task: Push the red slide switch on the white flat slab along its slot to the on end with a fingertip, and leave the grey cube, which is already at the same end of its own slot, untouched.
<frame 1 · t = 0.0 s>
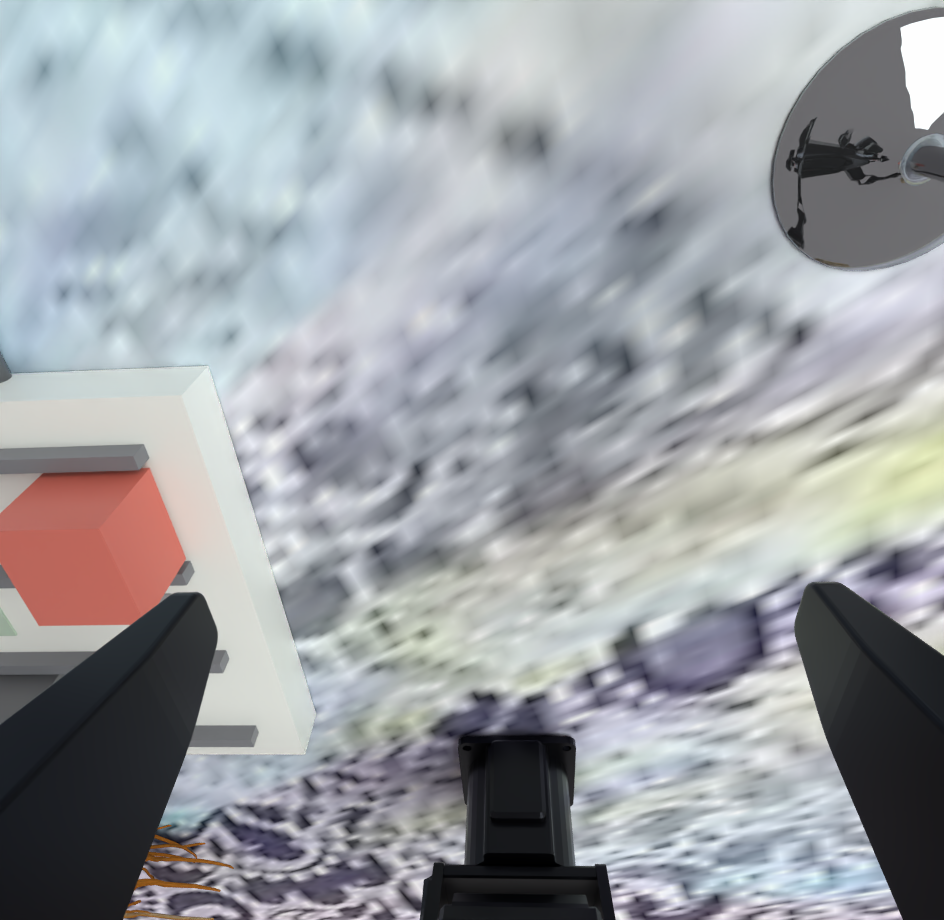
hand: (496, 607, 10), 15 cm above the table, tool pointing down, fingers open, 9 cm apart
wine glass: (892, 151, 19), on the table
red switch: (94, 546, 23), point 4 cm above the table, slide at 0.0 cm
grey cube: (20, 730, 30), point 4 cm above the table, slide at 8.0 cm
nautilus: (84, 828, 44), on the table
white flat slab: (107, 576, 30), on the table
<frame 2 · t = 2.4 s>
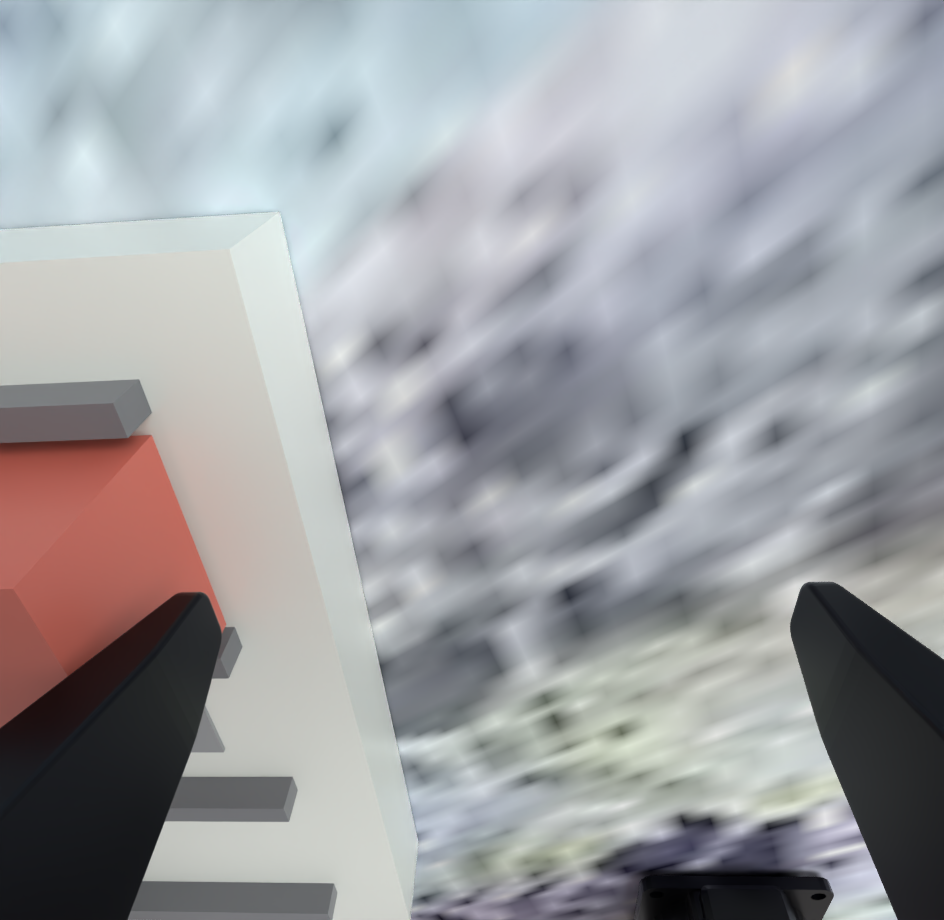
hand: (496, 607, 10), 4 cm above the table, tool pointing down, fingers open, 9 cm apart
red switch: (28, 613, 10), point 4 cm above the table, slide at 0.0 cm, touching gripper
white flat slab: (79, 640, 17), on the table
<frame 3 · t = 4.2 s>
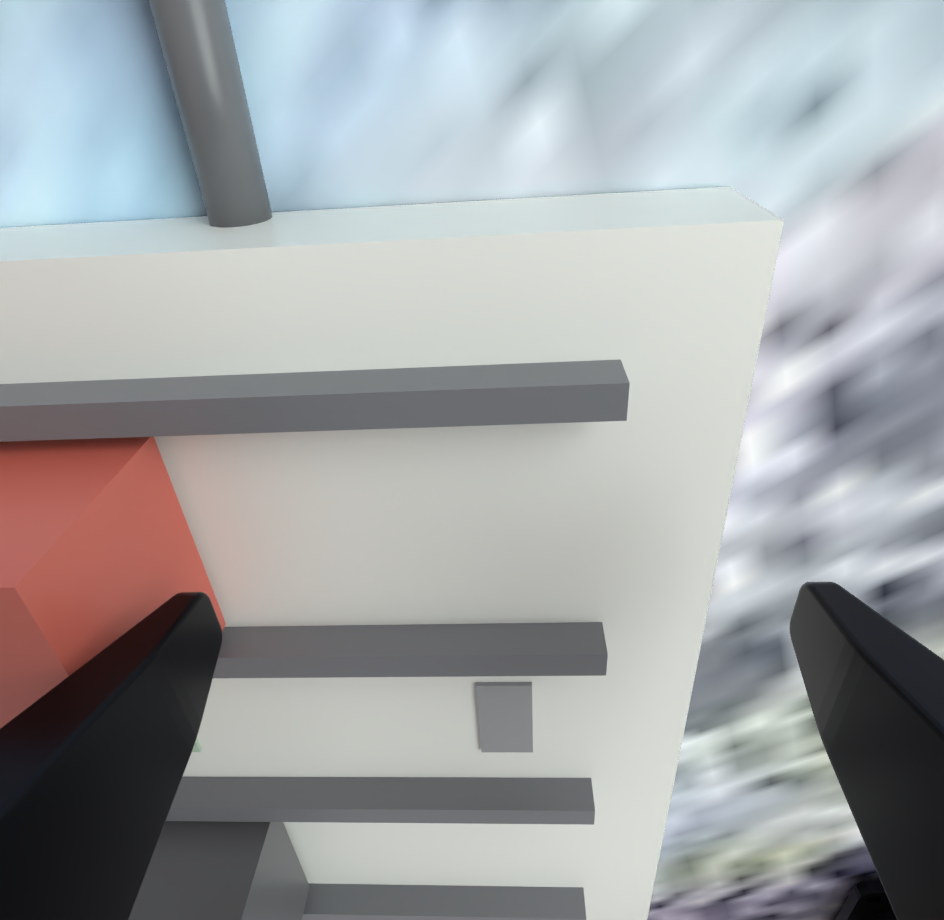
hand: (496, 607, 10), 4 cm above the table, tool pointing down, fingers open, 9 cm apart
red switch: (27, 612, 10), point 4 cm above the table, slide at 7.5 cm, touching gripper
grey cube: (197, 919, 16), point 4 cm above the table, slide at 8.0 cm
white flat slab: (351, 636, 17), on the table
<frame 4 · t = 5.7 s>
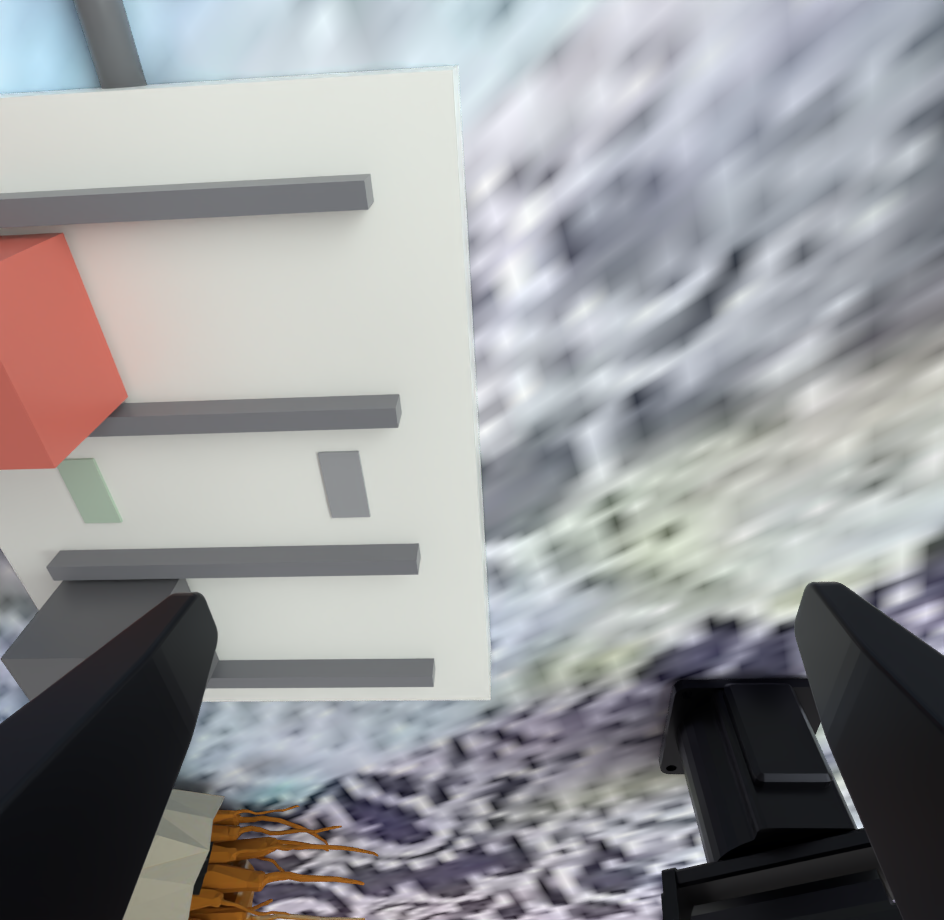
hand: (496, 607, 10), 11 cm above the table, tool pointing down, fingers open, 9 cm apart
grey cube: (122, 659, 21), point 4 cm above the table, slide at 8.0 cm
nautilus: (191, 815, 36), on the table
white flat slab: (242, 445, 21), on the table
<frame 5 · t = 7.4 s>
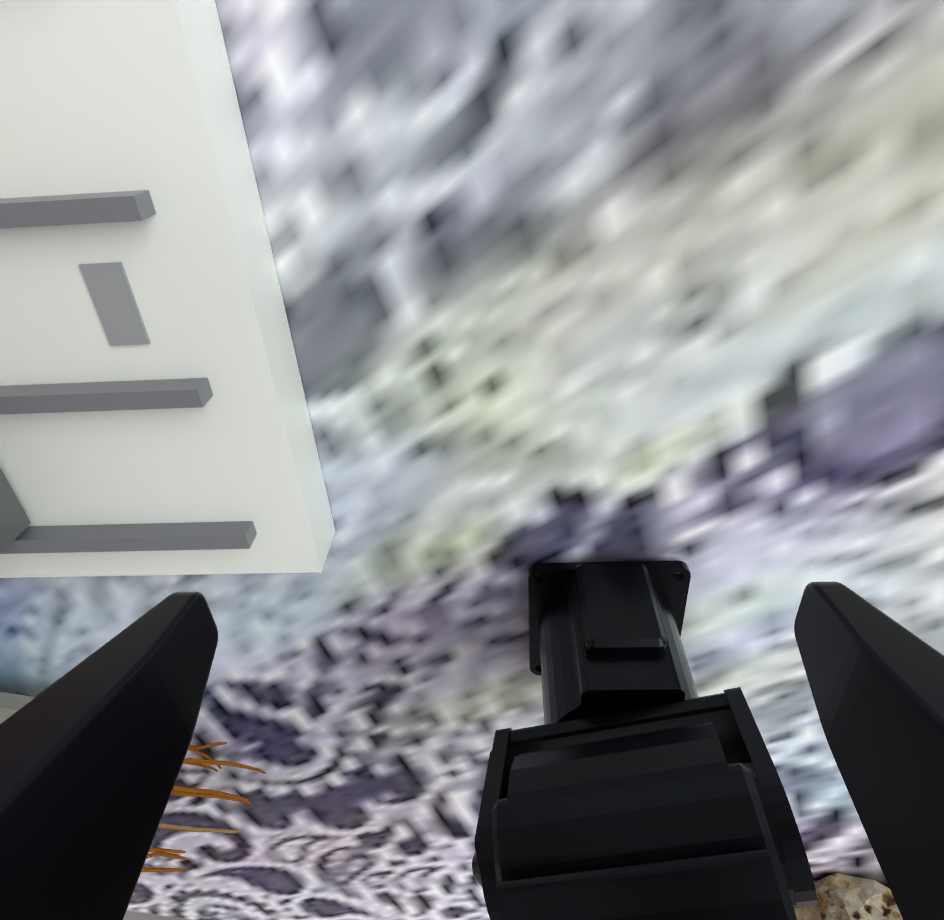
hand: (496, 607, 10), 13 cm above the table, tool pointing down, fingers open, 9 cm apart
rock: (898, 913, 43), on the table
nautilus: (79, 737, 35), on the table
white flat slab: (35, 285, 21), on the table
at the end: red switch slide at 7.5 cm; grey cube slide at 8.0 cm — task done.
